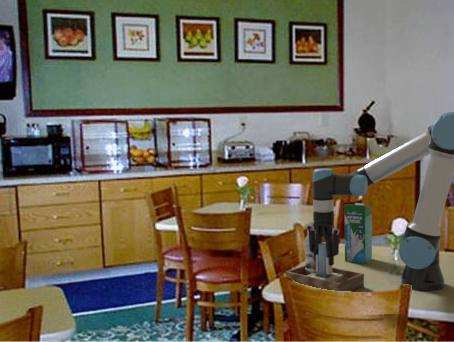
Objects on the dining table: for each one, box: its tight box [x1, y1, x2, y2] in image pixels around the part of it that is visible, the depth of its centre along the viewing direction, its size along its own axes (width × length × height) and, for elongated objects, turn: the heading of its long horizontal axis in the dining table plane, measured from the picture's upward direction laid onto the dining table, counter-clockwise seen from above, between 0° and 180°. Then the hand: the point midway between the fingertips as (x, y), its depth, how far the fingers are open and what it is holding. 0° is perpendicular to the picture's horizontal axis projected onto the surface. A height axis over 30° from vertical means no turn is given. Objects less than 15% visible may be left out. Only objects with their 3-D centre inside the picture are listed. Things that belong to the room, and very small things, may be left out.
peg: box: [318, 241, 330, 278], centre depth 217 cm, size 4×4×13 cm
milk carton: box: [343, 202, 373, 264], centre depth 251 cm, size 9×9×25 cm
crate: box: [285, 264, 365, 292], centre depth 217 cm, size 24×16×5 cm, turn 45°
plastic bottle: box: [303, 228, 316, 275], centre depth 225 cm, size 6×7×20 cm
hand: (324, 272), depth 217 cm, fingers closed on peg, 4 cm apart
